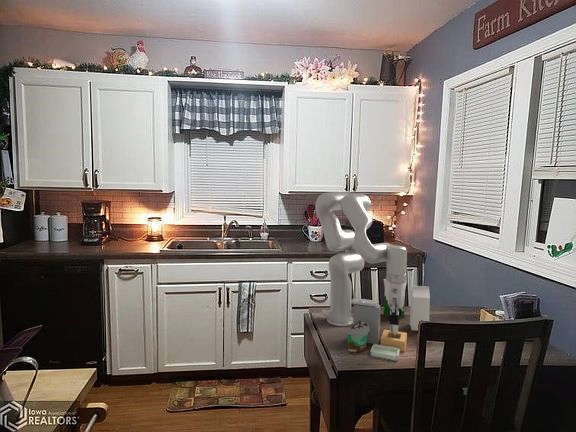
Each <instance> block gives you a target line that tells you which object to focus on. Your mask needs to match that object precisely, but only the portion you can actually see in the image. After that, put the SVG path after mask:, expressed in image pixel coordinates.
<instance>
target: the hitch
mask: <svg viewBox="0 0 576 432" xmlns="http://www.w3.org/2000/svg"><path fill="white" fill-rule="evenodd" d="M352 317H353V324H352V326H353V325H354V324H356V323H358V322H359V319H361V320H364V321H366V322H367V323H368V325H369V329H370V330H369V332H368V334H367V344H377V345H379V342H380V345H383V346H389V347H395V348H400V352H402V353H404V352H405V351H406V347H407V342H408V340H407V339H408V333H407V332H404V331H398V339H397V338H391V337H390V329H383V331H382V335H381V336H380V332H381V331H380V328H381V327H380V326H381V304H377V306H376V307H374V306H366V305H359V304H353V316H352Z"/></svg>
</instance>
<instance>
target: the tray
mask: <svg viewBox="0 0 576 432" xmlns="http://www.w3.org/2000/svg"><path fill="white" fill-rule="evenodd" d="M400 353H401V351H400V348H395V347H389V346H383V345H381V344H378V345H377V344H373V345H372V346H371V349H370V351H369V357H374V358H378V357H379V358H378V359H384V358H385V359H384V360H389V359H390V360H391V361H396V362H398V361H399V357H400ZM390 360H389V361H390Z"/></svg>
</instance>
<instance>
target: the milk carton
mask: <svg viewBox="0 0 576 432" xmlns="http://www.w3.org/2000/svg"><path fill="white" fill-rule="evenodd" d="M430 294H431V293H430V286H424V285H420V286H419V285H412V286H411V291H410V304H409V305H410V308H409V326H410V329H411V331H415V332H416V331H418V324H419V321H421V320H423V321H429V322H430V310H431V309H430V306H431V305H430V304H431V295H430Z"/></svg>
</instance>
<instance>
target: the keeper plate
mask: <svg viewBox="0 0 576 432" xmlns="http://www.w3.org/2000/svg"><path fill="white" fill-rule="evenodd" d="M352 304H353V305H354V304H359V305H366V306H374V307H376V306H377V305H379V301H378V300H374V299H373V300H372V299H365V298H357V297H353V298H351V305H352Z"/></svg>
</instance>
